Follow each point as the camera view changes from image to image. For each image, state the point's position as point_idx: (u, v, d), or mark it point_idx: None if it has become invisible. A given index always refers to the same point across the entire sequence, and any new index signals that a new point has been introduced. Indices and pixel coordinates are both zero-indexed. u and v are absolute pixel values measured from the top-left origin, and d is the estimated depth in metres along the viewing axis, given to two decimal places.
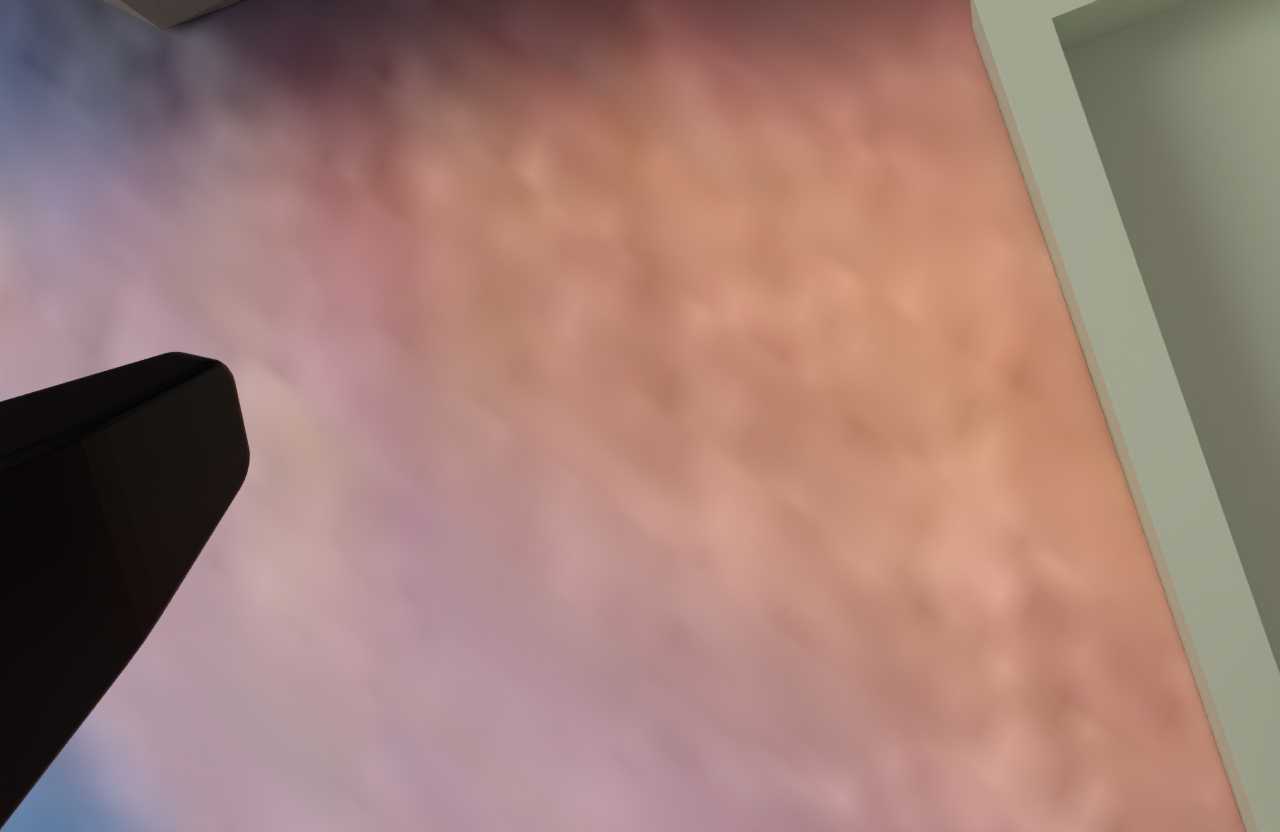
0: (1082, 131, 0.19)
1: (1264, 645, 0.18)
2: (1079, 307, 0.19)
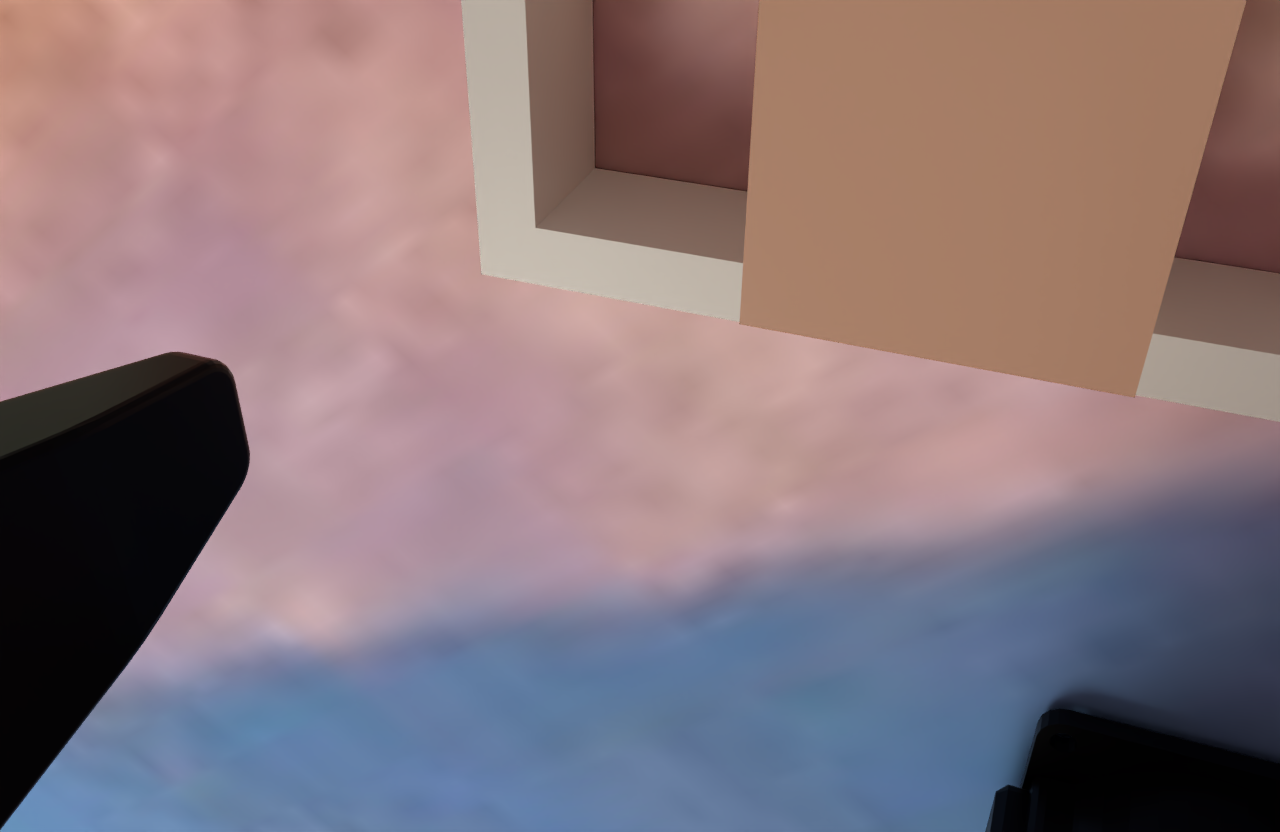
0: None
1: None
2: None
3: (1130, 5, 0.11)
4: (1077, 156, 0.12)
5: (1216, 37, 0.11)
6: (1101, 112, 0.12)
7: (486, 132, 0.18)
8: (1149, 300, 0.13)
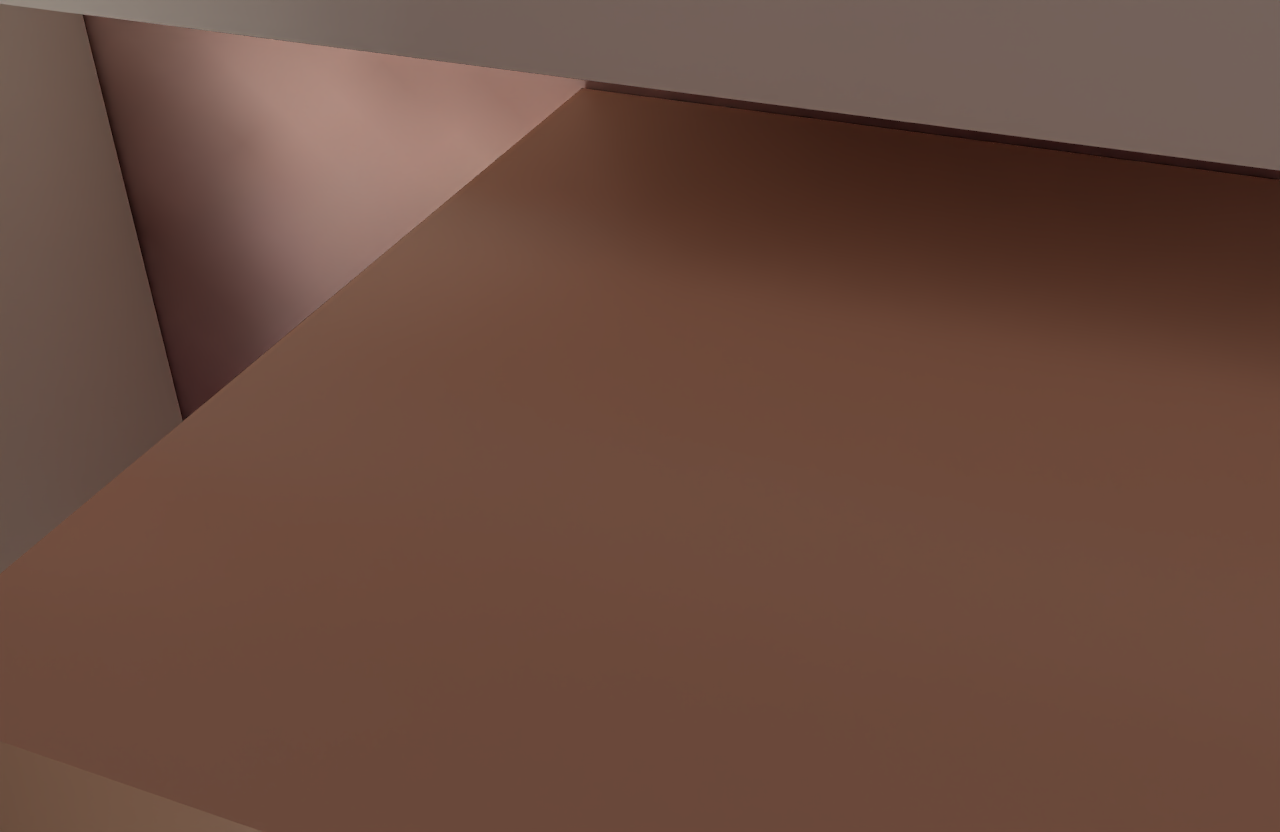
0: None
1: None
2: None
3: None
4: None
5: None
6: None
7: None
8: None
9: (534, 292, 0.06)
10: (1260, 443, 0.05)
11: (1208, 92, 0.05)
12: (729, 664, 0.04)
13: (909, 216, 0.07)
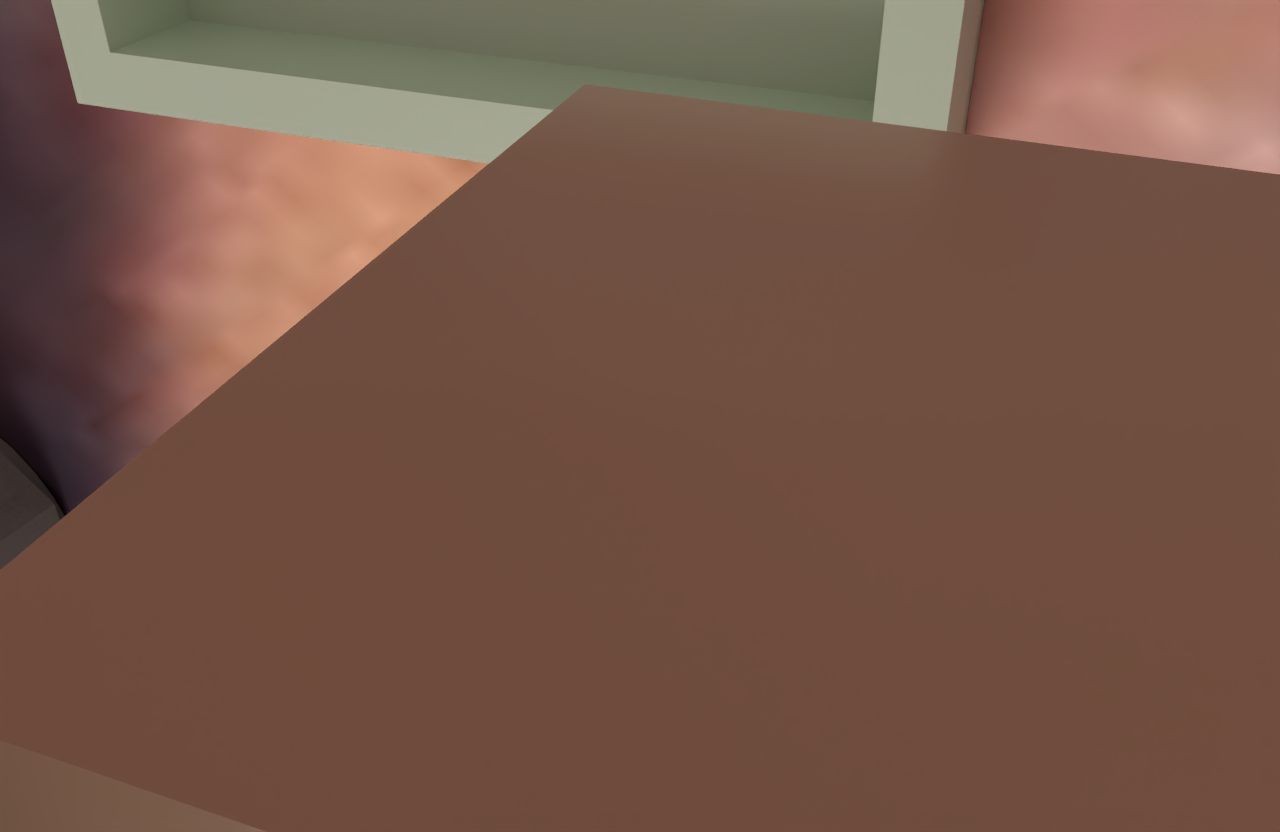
0: (203, 70, 0.20)
1: None
2: (346, 140, 0.20)
3: None
4: None
5: None
6: None
7: None
8: None
9: (538, 287, 0.06)
10: (1271, 439, 0.05)
11: None
12: (736, 661, 0.04)
13: (914, 211, 0.07)
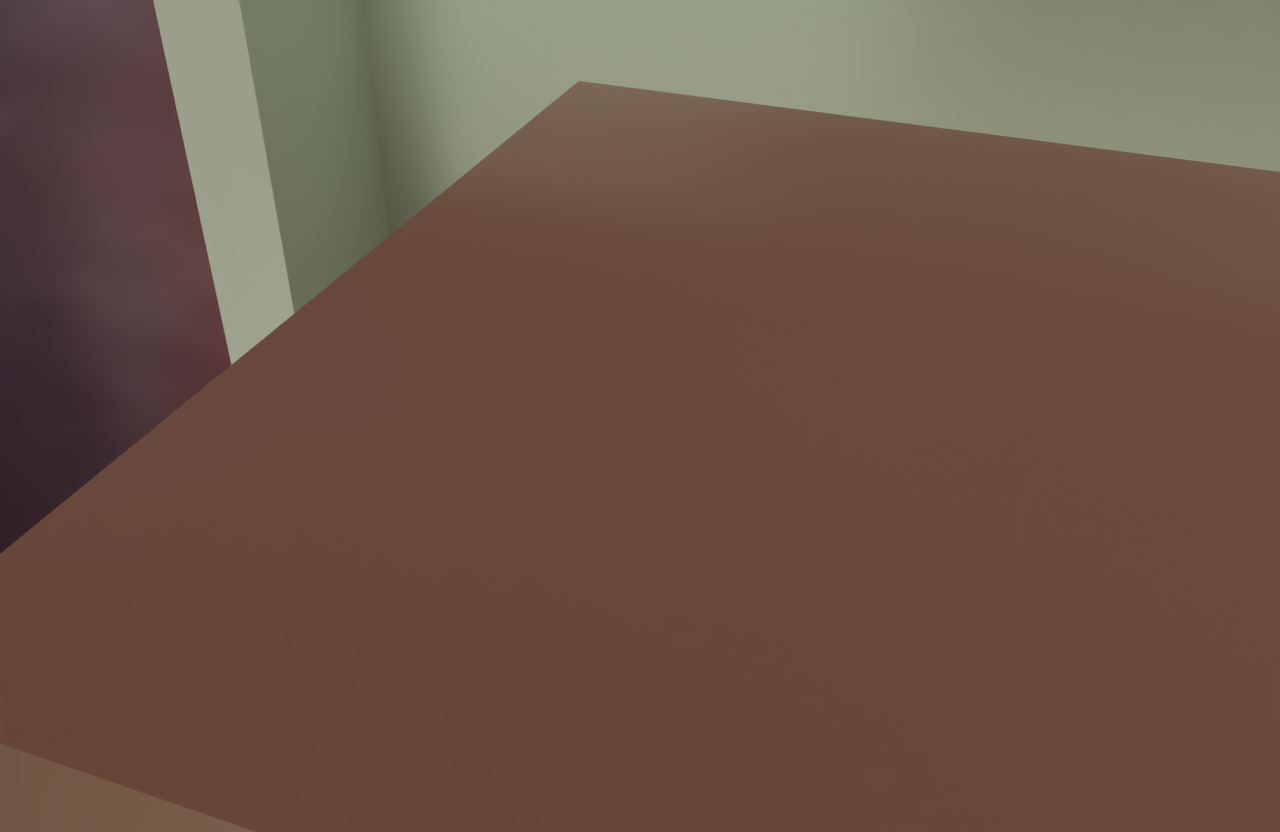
0: None
1: None
2: None
3: None
4: None
5: None
6: None
7: None
8: None
9: (529, 285, 0.06)
10: (1264, 436, 0.05)
11: None
12: (724, 656, 0.04)
13: (908, 209, 0.07)
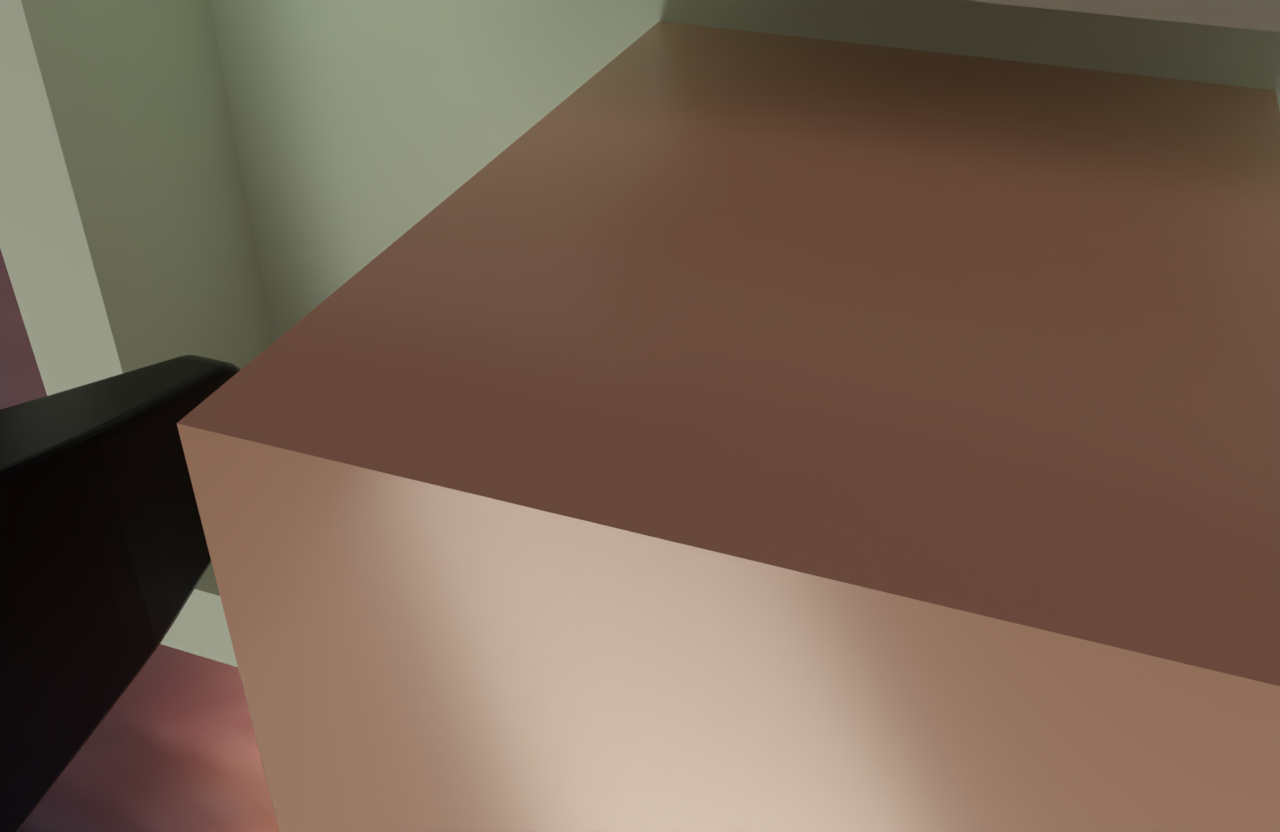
0: None
1: None
2: None
3: (1048, 707, 0.04)
4: None
5: (1279, 818, 0.04)
6: None
7: None
8: None
9: (646, 168, 0.07)
10: (1253, 270, 0.06)
11: None
12: (843, 406, 0.05)
13: (955, 115, 0.08)
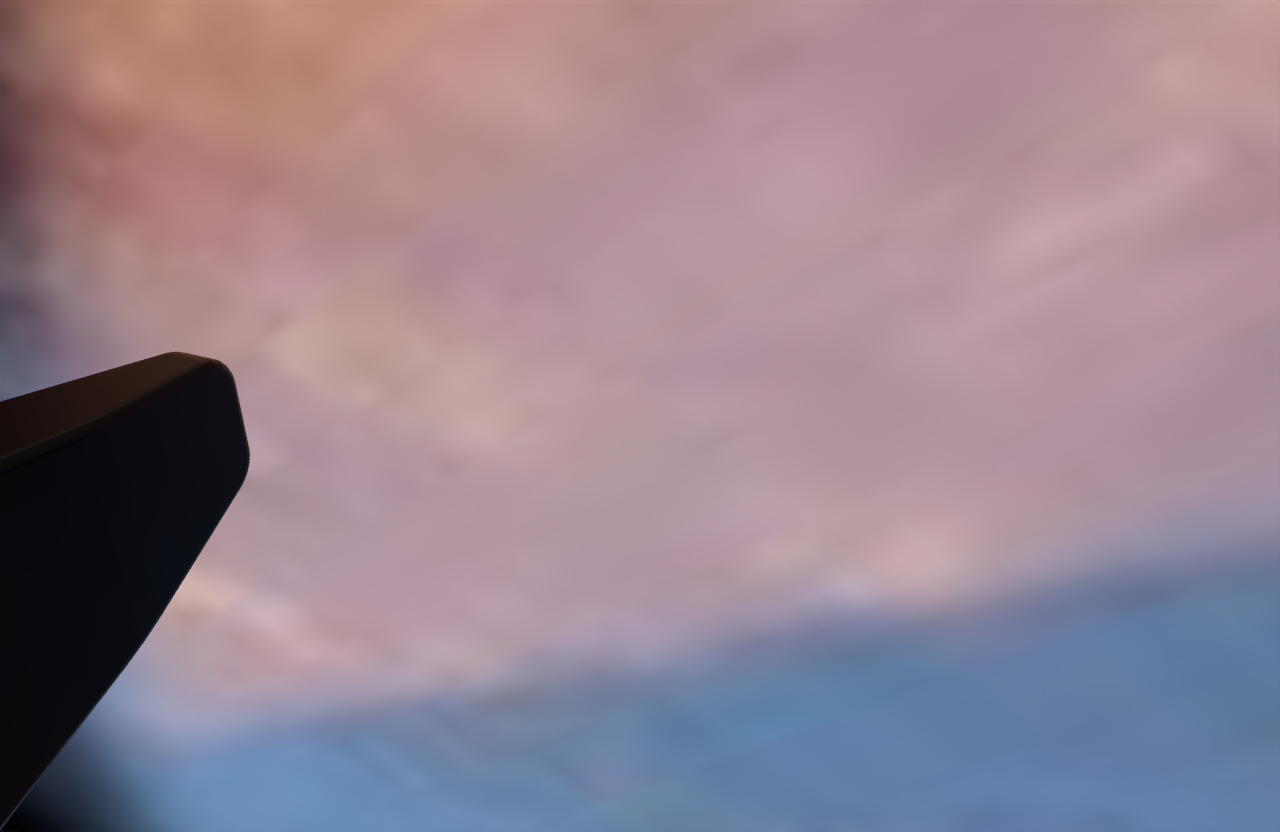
0: None
1: None
2: None
3: None
4: None
5: None
6: None
7: None
8: None
9: None
10: None
11: None
12: None
13: None
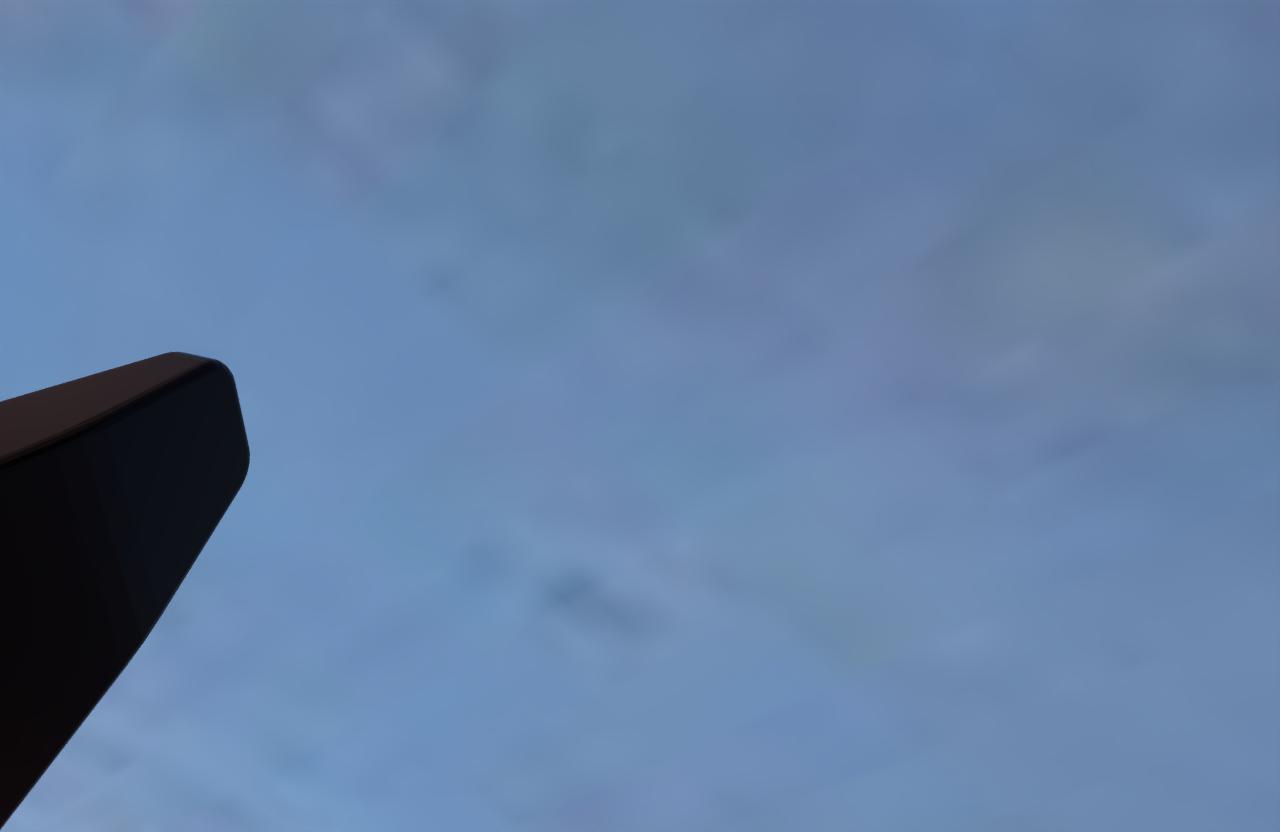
0: None
1: None
2: None
3: None
4: None
5: None
6: None
7: None
8: None
9: None
10: None
11: None
12: None
13: None
